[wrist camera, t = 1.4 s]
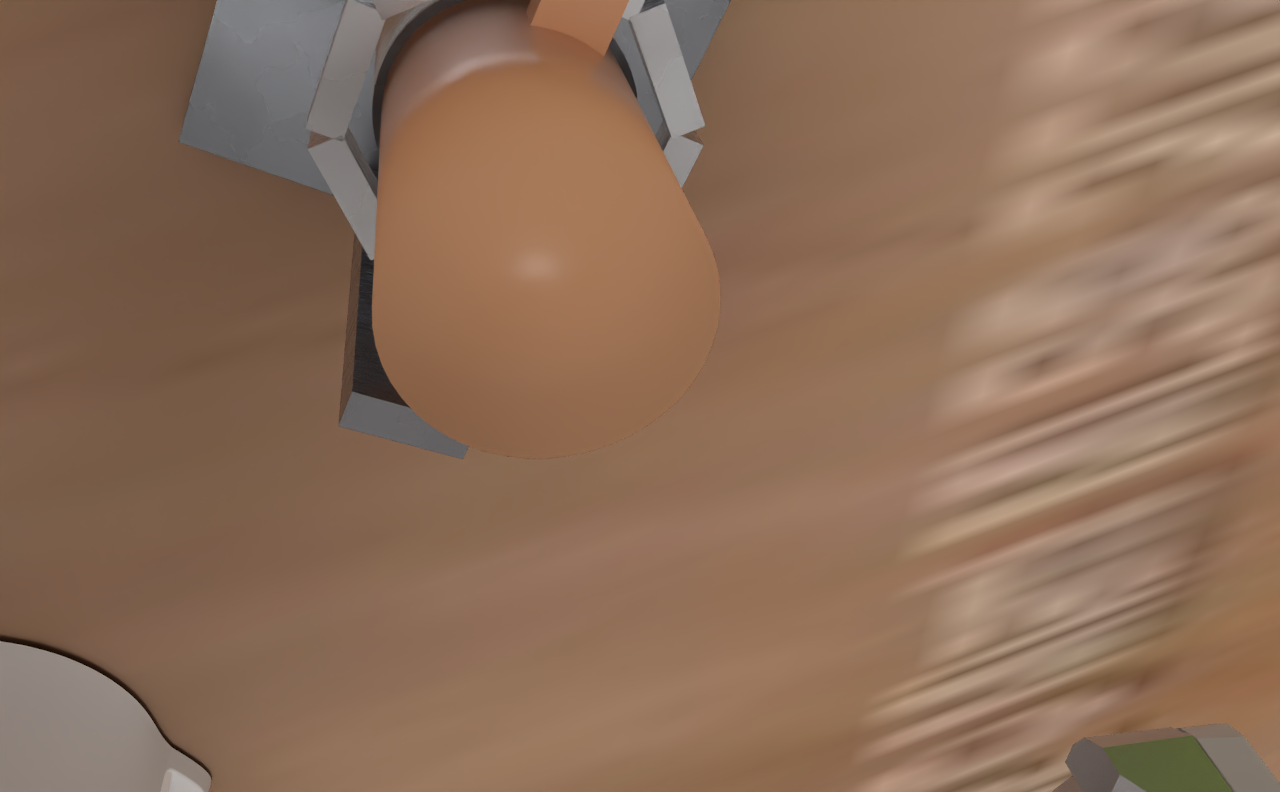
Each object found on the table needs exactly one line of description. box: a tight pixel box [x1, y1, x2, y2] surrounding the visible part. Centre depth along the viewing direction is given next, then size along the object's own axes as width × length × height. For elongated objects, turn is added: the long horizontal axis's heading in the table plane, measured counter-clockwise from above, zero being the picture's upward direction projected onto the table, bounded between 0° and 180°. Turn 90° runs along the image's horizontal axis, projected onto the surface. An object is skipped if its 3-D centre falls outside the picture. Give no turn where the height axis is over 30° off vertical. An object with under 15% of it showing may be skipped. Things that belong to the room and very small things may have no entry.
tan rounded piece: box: [372, 0, 721, 459], centre depth 22 cm, size 11×6×9 cm, turn 154°
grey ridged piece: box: [178, 0, 731, 459], centre depth 28 cm, size 15×14×14 cm
